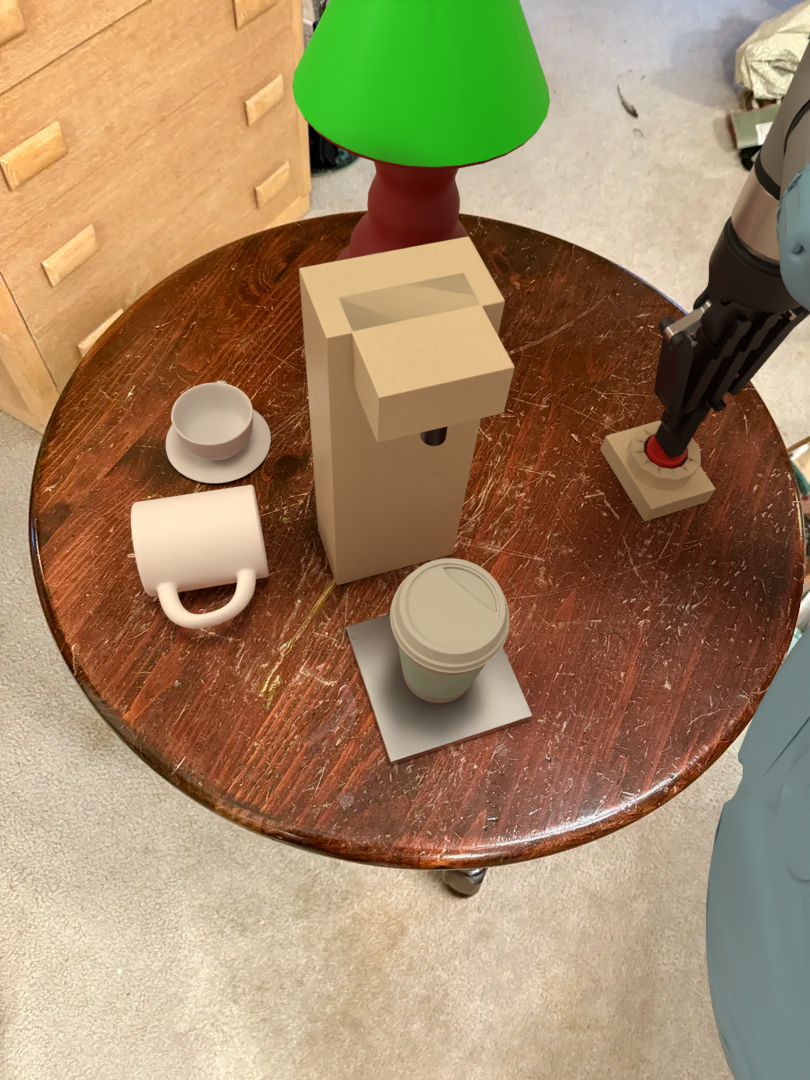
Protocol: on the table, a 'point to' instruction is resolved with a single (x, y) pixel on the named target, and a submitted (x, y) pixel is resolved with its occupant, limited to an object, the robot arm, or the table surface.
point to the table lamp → (420, 104)
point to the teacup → (216, 434)
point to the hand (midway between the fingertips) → (668, 445)
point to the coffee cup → (447, 626)
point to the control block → (655, 474)
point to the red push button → (662, 455)
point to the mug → (199, 549)
